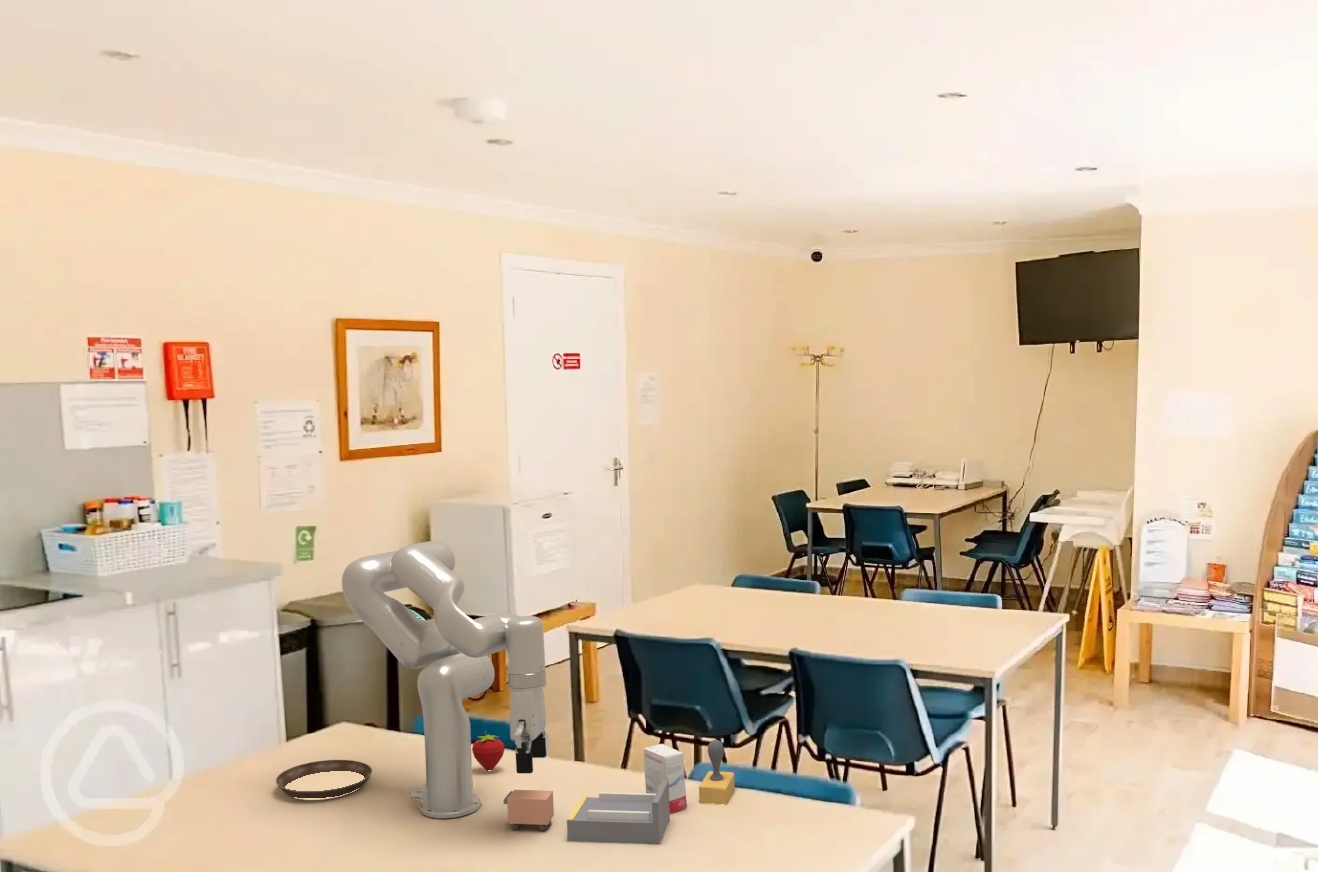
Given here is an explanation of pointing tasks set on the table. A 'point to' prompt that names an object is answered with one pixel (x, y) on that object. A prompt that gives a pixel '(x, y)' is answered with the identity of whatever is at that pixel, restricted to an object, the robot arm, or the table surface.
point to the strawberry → (488, 751)
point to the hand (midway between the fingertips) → (531, 765)
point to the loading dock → (621, 817)
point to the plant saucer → (323, 767)
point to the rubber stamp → (716, 778)
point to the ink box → (666, 774)
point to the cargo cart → (529, 808)
